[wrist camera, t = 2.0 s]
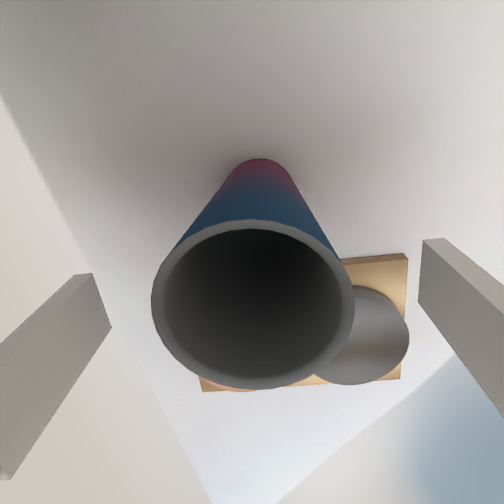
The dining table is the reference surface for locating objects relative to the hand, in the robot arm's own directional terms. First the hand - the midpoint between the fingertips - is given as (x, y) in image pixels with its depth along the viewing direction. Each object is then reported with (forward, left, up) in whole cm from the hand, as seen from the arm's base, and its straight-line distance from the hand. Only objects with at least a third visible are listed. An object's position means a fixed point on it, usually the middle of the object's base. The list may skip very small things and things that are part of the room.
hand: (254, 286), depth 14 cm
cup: (0, 0, -13) cm, 13 cm away
